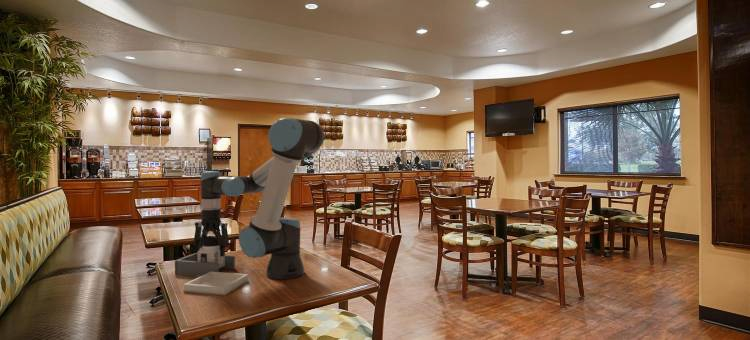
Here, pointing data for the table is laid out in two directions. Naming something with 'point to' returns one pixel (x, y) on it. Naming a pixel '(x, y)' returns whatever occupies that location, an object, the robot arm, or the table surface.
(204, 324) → the table surface
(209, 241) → the container
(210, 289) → the tray
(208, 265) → the bay
